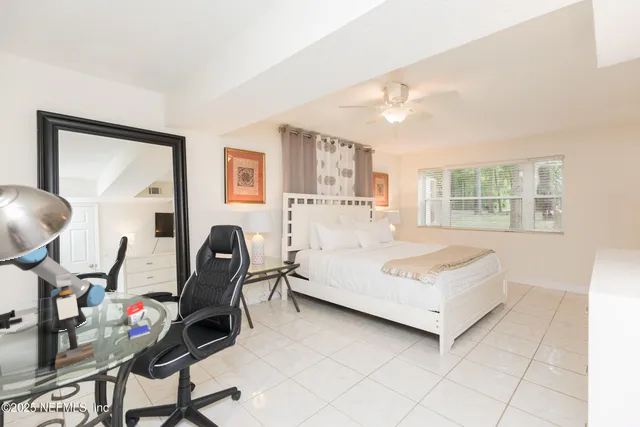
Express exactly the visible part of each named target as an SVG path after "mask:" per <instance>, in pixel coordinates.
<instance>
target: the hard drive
mask: <svg viewBox="0 0 640 427" xmlns="http://www.w3.org/2000/svg"><path fill="white" fill-rule="evenodd" d="M150 333H151V331H150V327H149V325H148V324H144V325H140V326H136V327H132V328H129V330H128V334H129V340H132V339H136V338H140V337H142V336H145V335H148V334H150Z"/></svg>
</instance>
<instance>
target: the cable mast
mask: <svg viewBox="0 0 640 427" xmlns="http://www.w3.org/2000/svg"><path fill="white" fill-rule="evenodd" d="M56 282H57V287H56V289H58V287H61V291H59V295H62V298H63V299H64V298H68V297H70V293H72V289H69V286H68V285H71V277H70V271H69V272H67V273H61V274H56ZM66 324H67V331H66V332H67V337H68V343H69V344H68V345H69V347H68V348H66V349H65V350H64V351H61V352H57V353H55V355H56V356H55V363H54V368H55V370H56V369H57V368H60V367H63V366H66V367H69V366H71V364H72V365H74V364H78V363H80V361H81V362H83V361H82V360H84V359H86V358H90V357H93V358H95V355H94V348H93V343H92V342H90V343H89V342H88V343H87V344H78V341H77V333H76V329H75V326H74V319H73V317H69V318H66ZM90 359H91V358H90ZM84 361H85V360H84ZM77 362H78V363H77ZM63 368H64V367H63ZM60 369H61V368H60ZM57 370H58V369H57Z"/></svg>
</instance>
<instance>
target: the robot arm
mask: <svg viewBox="0 0 640 427" xmlns="http://www.w3.org/2000/svg"><path fill="white" fill-rule="evenodd" d="M46 247H47V245H46V244H45V246H44V247H42V248H40V249H38V250H35V251H33V252H31V253H29V254H27V255H24V256H21V257H18V258H14V259H10V260H5V261H0V267H2V266H9V265H10V266H11V265H12V266H15V267H17V268H18V269H20V270H21V271H24V272H28V271H31V272H32V273H34V274H35V275H37V276H38V277H40V278H42V279H43V280H44V281H46V282H47V283H49V284H51V285H53V286H54V287H56V289H53V290H52V291H50V296H51V297H50V300H51V306H52V310H53V321H52V324H51V331H52V330H54V331H59V330H65V329H67V324H66V318H65V319H62V320H59V314H58V307H57V298H60V297H62V295H59V291H61V287H58V288H57V282H56V274H61V273H67V272H70V271H69V270H68V269H66V268H65V267H64V266H63V265H61V264H59V263H58V262H57V261H55V260H54V259H52V258H51V257H50V256H49V251H48V248H46ZM70 277H71V285H68V286H69V289H72V293H70V295H74V294H76V301H77V307H78V315H77V316H73V319H74V326H75V327H77V326H79V325H80V324H82V323H83V322H85V321H86V319H87V317H86V315H85V314H84V312H83V310H82V309H83V308H84V309H85V308H93V307H97V306H99V305H101V304H102V303H103V301H104V299H105V296H106V291H105V288H104V286H103V285H101V284H93V283H92V282H90V281H89V280H88V279H87V280H86V279H81V278H80V277H77V276H76V275H75V274H73V273H72V272H70ZM36 314H37V315H38V307H37V306H34V307H30V308H26V309H21V310H15V309H12V310H11V311H9V312H5V313H2V314H0V330H2V329H3V330H4V329H5V330H8V329H11V327H12V326H16V325H19V324H20V325H21V324H24V323H28V322H32V321H35V320H36V317H35V315H36Z"/></svg>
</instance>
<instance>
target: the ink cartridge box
mask: <svg viewBox="0 0 640 427" xmlns="http://www.w3.org/2000/svg"><path fill="white" fill-rule="evenodd" d="M135 306H136V307H135ZM125 309H126V314H127V315H126V316H127V324H128V326H134V325H136V324H138V323H140V322H141V321H144V320H145V319H148V318H149V316H148V309H147V308H144V304H143V300H140V301H138V302H136V303H133V304H131V305H129V306H127V307H126V308H125ZM147 317H148V318H147Z"/></svg>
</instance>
